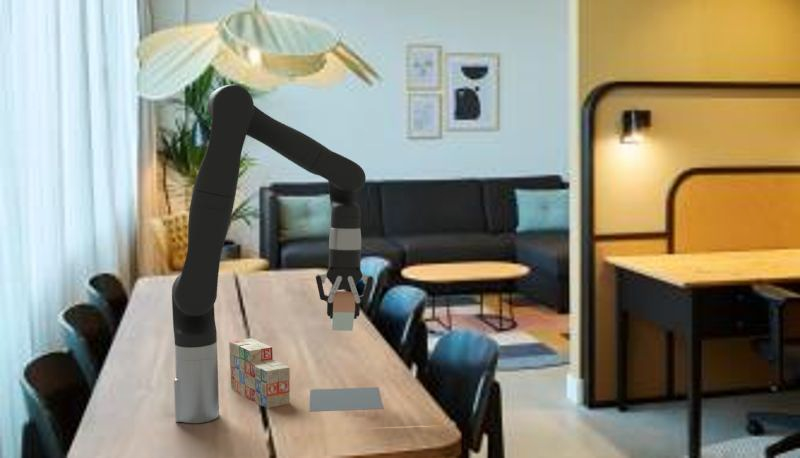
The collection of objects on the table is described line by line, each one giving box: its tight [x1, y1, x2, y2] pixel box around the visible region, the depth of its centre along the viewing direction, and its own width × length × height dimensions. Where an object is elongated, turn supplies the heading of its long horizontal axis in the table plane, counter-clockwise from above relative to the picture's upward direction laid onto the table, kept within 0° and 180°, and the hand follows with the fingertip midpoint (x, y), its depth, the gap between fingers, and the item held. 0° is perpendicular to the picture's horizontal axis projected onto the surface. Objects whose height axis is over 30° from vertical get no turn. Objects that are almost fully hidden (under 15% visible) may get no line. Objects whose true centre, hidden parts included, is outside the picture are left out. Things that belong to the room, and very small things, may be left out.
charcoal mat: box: [309, 386, 384, 413], centre depth 203 cm, size 17×17×1 cm
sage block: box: [331, 290, 355, 332], centre depth 202 cm, size 5×5×9 cm
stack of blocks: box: [228, 337, 291, 409], centre depth 206 cm, size 21×6×12 cm, turn 34°
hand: (343, 317), depth 201 cm, fingers closed on sage block, 5 cm apart
